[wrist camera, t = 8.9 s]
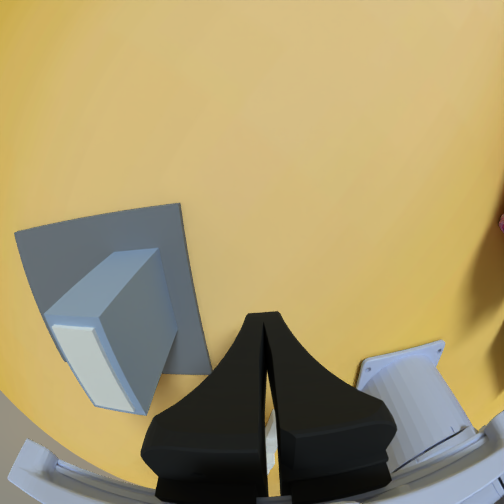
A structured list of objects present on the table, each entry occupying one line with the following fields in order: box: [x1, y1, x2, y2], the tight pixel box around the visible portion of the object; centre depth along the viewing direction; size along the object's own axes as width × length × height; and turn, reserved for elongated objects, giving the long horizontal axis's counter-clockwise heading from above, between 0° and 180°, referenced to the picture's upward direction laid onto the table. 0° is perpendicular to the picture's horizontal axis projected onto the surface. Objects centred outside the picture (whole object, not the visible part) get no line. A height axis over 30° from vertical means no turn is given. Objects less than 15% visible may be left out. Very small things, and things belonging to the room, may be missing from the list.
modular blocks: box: [265, 409, 278, 475], centre depth 21 cm, size 20×7×4 cm, turn 171°
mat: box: [14, 203, 213, 375], centre depth 16 cm, size 12×14×1 cm
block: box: [44, 248, 178, 416], centre depth 12 cm, size 6×3×7 cm, turn 5°
